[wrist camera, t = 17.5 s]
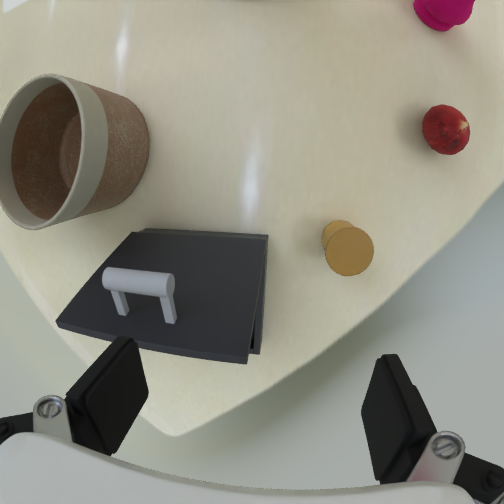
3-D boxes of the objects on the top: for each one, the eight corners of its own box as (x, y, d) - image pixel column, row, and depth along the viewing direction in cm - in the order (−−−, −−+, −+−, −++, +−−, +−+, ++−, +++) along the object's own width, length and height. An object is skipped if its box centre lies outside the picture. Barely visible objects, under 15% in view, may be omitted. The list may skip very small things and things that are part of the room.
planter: (80, 225, 37) (12, 251, 24) (52, 131, 34) (-16, 129, 20) (169, 180, 34) (106, 189, 21) (132, 74, 31) (68, 42, 17)
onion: (443, 163, 29) (478, 164, 22) (407, 142, 30) (438, 137, 22) (453, 123, 28) (488, 116, 20) (418, 102, 28) (449, 88, 20)
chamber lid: (247, 364, 18) (246, 311, 15) (58, 328, 19) (36, 280, 17) (266, 246, 31) (267, 203, 29) (132, 237, 33) (126, 199, 30)
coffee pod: (310, 236, 34) (315, 249, 28) (342, 209, 33) (354, 217, 27) (336, 267, 35) (345, 285, 29) (367, 241, 33) (382, 255, 28)
